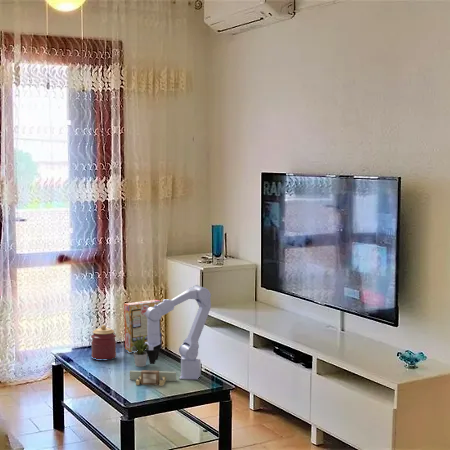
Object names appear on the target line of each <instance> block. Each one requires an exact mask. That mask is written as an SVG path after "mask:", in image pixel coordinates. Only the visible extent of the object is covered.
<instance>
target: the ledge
mask: <svg viewBox="0 0 450 450" xmlns="http://www.w3.org/2000/svg"><path fill="white" fill-rule="evenodd" d="M141 371H142V370H129V380H130V381H133V380H134V381H135V385H136V386H140V385H141ZM158 371H159V386H164V385H165V383H166V381H167V382H176V381H177V371H161V370H158Z"/></svg>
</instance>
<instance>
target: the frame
mask: <svg viewBox="0 0 450 450" xmlns="http://www.w3.org/2000/svg"><path fill="white" fill-rule="evenodd" d="M140 371H141V383H140V385H147V386H160V381H159V371H160V370H152V369H150V370H148V369H142V370H140Z"/></svg>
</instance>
